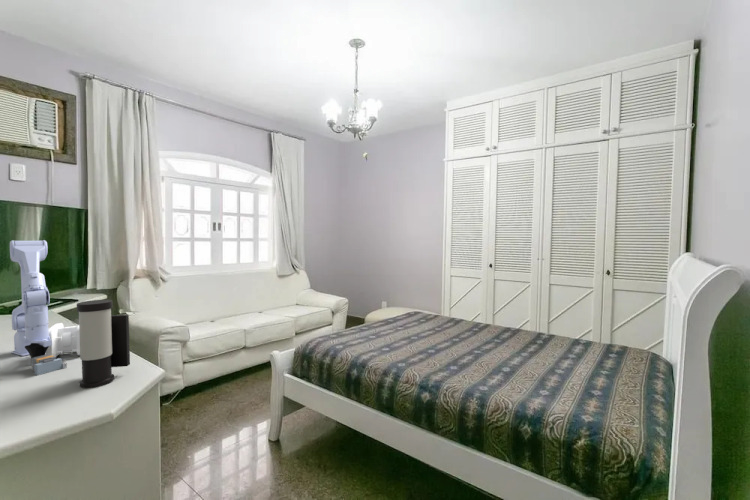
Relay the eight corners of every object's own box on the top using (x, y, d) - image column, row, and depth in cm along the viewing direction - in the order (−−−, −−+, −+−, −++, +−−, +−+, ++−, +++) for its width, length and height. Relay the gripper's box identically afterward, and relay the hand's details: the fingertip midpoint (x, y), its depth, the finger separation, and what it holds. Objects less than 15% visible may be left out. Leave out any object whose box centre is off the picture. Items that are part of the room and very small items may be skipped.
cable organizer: (82, 358, 127) (81, 326, 127) (43, 363, 122) (42, 330, 122) (91, 347, 140) (90, 318, 140) (56, 351, 135) (55, 322, 135)
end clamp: (34, 374, 112) (34, 362, 112) (59, 367, 118) (58, 356, 118) (37, 375, 111) (37, 363, 111) (62, 368, 117) (61, 357, 117)
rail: (36, 361, 124) (36, 356, 124) (39, 360, 125) (39, 355, 125) (63, 368, 117) (62, 364, 117) (66, 367, 118) (66, 363, 118)
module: (31, 369, 116) (31, 357, 116) (47, 365, 120) (47, 353, 120) (40, 372, 114) (40, 360, 113) (56, 368, 117) (55, 356, 117)
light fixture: (65, 390, 100) (62, 305, 99) (88, 375, 111) (86, 299, 110) (112, 386, 103) (109, 303, 102) (130, 372, 113) (128, 297, 112)
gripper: (10, 325, 117) (12, 365, 118) (31, 330, 111) (33, 372, 112) (37, 321, 124) (39, 358, 124) (59, 325, 118) (60, 364, 118)
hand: (38, 364), depth 118 cm, fingers closed
